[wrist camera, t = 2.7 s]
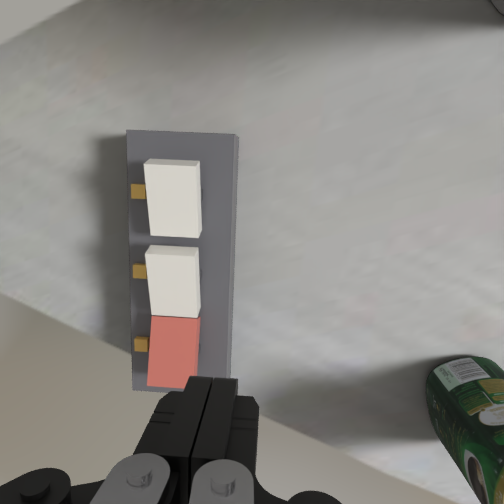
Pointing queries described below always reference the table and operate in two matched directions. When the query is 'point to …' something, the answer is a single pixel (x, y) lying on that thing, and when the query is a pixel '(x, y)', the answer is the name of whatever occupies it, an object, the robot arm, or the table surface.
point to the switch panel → (186, 244)
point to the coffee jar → (471, 421)
